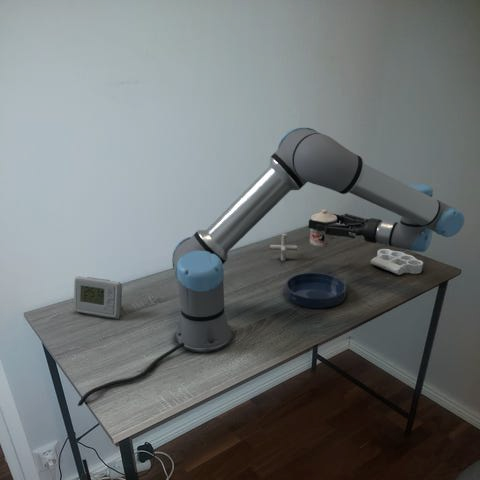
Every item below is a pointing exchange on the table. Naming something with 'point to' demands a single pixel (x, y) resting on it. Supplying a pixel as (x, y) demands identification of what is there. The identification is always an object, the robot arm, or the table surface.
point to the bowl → (315, 290)
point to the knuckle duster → (397, 262)
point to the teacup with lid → (319, 236)
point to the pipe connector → (283, 247)
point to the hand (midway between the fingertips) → (315, 219)
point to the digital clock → (97, 297)
